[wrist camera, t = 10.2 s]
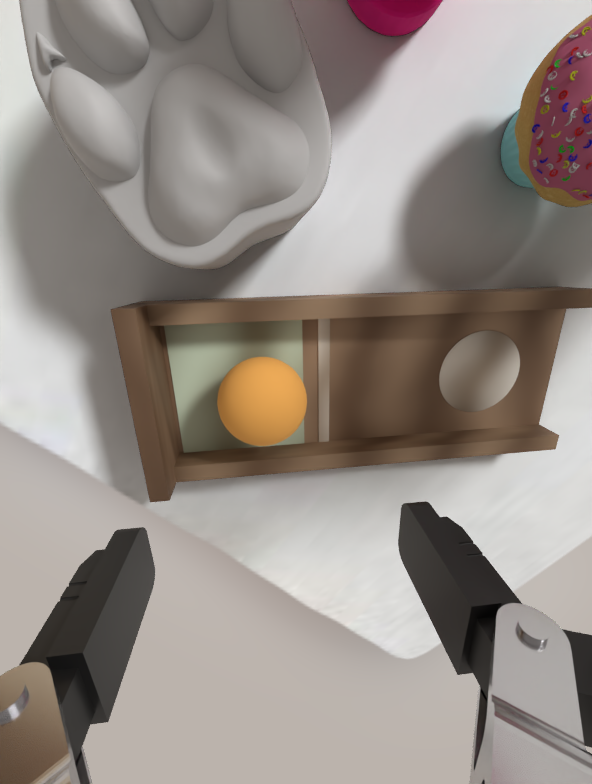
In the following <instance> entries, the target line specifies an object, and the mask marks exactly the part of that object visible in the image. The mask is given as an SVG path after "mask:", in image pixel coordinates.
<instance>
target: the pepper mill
mask: <svg viewBox="0 0 592 784" xmlns="http://www.w3.org/2000/svg"><path fill="white" fill-rule="evenodd" d="M347 1H348V3H349V5H350V7H351V8H352V10H353V11H354V13H355V14H356V16H357V17H358V19H359V20H360V21H362V22H363V23H364V24H365V25H366V26H367V27H368V28H370V29H371V30H373V31H376V32H378V33H380V34H383V35H387V36H400V35H404V34H408V33H410V32H412V31H414V30H416V29H417V28H419V27H421V26H422V25H423V24H424V23H425V22H426V21H427V20H429V18H430V17H431V16H432V15H433V14H434V12H435V11H436V9H437V8H438V7H439V5H440V4H441V2H442V1H443V0H347Z"/></svg>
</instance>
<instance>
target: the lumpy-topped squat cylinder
mask: <svg viewBox="0 0 592 784" xmlns="http://www.w3.org/2000/svg"><path fill="white" fill-rule="evenodd" d="M19 1H20V9H21V17H22V23H23V29H24V35H25V41H26V47H27V52H28V57H29V62H30V66H31V71H32V75H33V78H34V81H35V84H36V86H37V89H38V91H39V94H40V96H41V98H42V100H43V102H44V104H45V106H46V108H47V110H48V112H49V114H50V116H51V118H52V120H53V121H54V123H55V125H56V127H57V129H58V131H59V133H60V135H61V137H62V139H63V141H64V142H65V144H66V146H67V147H68V149H69V151H70V152H71V154H72V156H73V157H74V159H75V160H76V162H77V164H78V165H79V167H80V168H81V170H82V171H83V173H84V175H85V176H86V178H87V179H88V180H89V182H90V183H91V185H92V186H93V188H94V189H95V190H96V192H97V193H98V194H99V196H100V197H101V198H102V199H103V201H104V202H105V203H106V205H107V206H108V207H109V209H110V210H111V212H112V213H113V214H114V216H115V217H116V218H117V220H118V221H119V222H120V224H121V225H122V226H123V228H124V229H125V230H126V231H127V233H128V234H129V235H130V236H131V237H132V238H133V239H134V240H135V241H136V242H137V243H138V244H139V245H140V246H141V247H142V248H143V249H145V250H146V251H147V252H148V253H150V254H151V255H153V256H155V257H156V258H158V259H160V260H162V261H164V262H167V263H169V264H172V265H175V266H179V267H183V268H192V269H210V270H211V269H218V268H221V267H224V266H226V265H227V264H229V263H231V262H232V261H233V260H235V259H236V258H237V257H238V256H240V255H241V254H242V253H243V252H244V251H246V250H247V249H248V248H250V247H252V246H253V245H255V244H257V243H259V242H261V241H264V240H267V239H270V238H273V237H276V236H278V235H281V234H283V233H285V232H287V231H289V230H290V229H291V228H293V227H294V226H295V225H296V224H297V223H298V222H299V221H300V219H301V218H302V217H303V216H304V215H305V214H306V213H307V212H308V211H309V210H310V209H311V207H312V206H313V205H314V204H315V203H316V201H317V200H318V199H319V197H320V195H321V193H322V191H323V189H324V186H325V184H326V181H327V177H328V173H329V168H330V163H331V153H332V137H331V127H330V122H329V116H328V112H327V109H326V105H325V101H324V97H323V94H322V91H321V88H320V84H319V81H318V78H317V74H316V70H315V66H314V63H313V60H312V57H311V54H310V51H309V48H308V46H307V43H306V40H305V37H304V35H303V32H302V30H301V27H300V25H299V23H298V20H297V18H296V15H295V11H294V8H293V6H292V3H291V0H19Z"/></svg>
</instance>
